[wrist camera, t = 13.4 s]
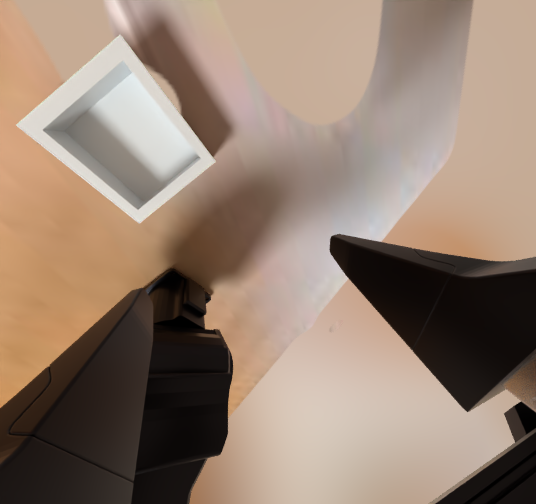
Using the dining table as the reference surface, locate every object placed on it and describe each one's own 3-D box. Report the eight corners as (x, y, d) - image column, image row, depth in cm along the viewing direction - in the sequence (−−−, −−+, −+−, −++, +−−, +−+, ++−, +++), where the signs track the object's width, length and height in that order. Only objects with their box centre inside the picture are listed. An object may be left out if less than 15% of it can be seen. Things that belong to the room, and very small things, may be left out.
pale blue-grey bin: (145, 212, 19) (139, 223, 16) (46, 126, 14) (15, 125, 11) (212, 158, 18) (215, 161, 16) (132, 52, 14) (120, 34, 11)
